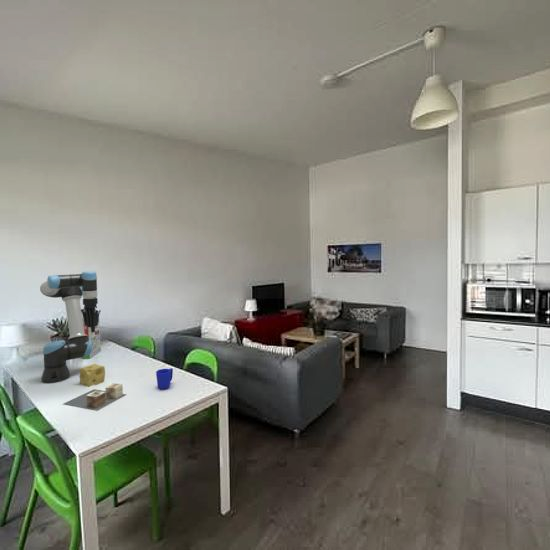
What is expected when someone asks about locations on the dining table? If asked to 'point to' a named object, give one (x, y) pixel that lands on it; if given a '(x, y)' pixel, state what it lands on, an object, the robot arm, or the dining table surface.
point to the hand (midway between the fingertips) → (91, 337)
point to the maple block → (114, 391)
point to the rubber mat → (82, 401)
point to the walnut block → (96, 399)
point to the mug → (164, 378)
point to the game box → (94, 341)
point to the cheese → (92, 375)
